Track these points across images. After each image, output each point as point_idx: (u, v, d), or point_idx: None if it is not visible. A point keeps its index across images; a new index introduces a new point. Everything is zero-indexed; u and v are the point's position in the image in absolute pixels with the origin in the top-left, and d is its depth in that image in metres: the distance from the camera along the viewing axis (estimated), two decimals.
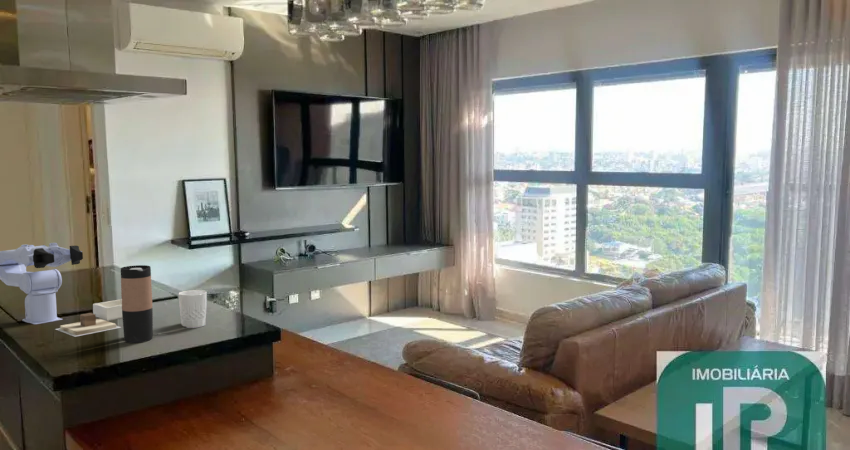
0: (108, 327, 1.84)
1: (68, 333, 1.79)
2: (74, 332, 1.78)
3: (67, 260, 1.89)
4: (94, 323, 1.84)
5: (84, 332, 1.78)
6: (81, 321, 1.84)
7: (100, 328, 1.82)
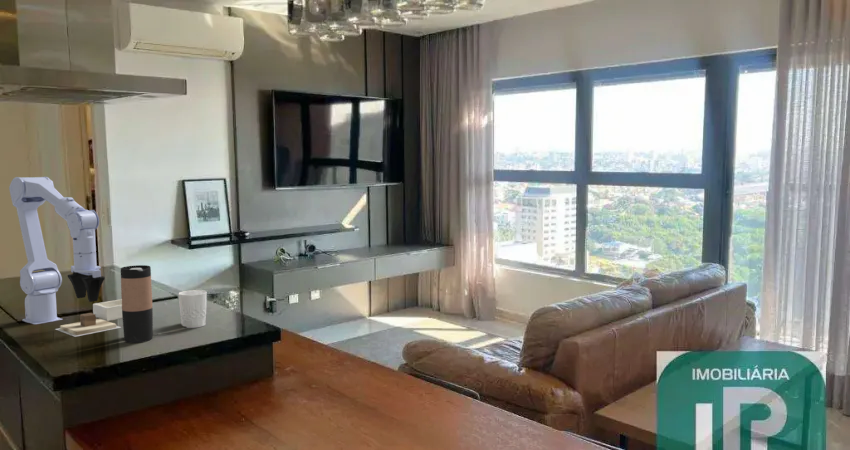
0: (108, 327, 1.84)
1: (68, 333, 1.79)
2: (74, 332, 1.78)
3: None
4: (94, 323, 1.84)
5: (84, 332, 1.78)
6: (81, 321, 1.84)
7: (100, 328, 1.82)
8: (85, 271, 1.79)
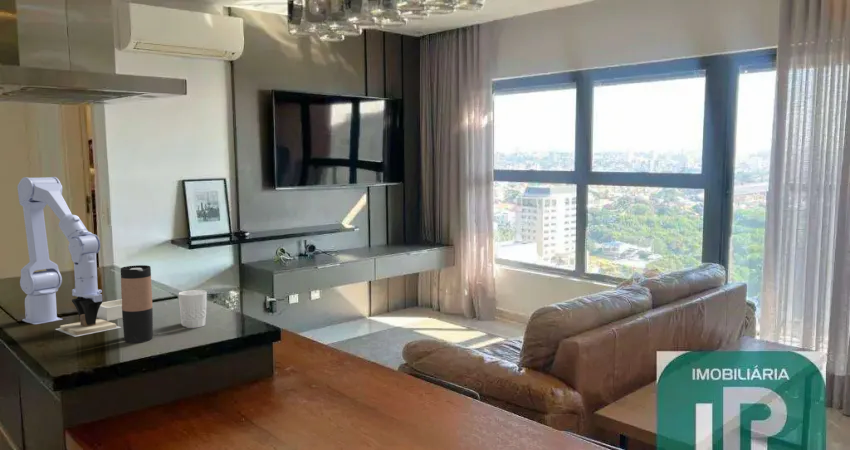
0: (108, 327, 1.84)
1: (68, 333, 1.79)
2: (74, 332, 1.78)
3: None
4: None
5: (84, 332, 1.78)
6: (81, 321, 1.84)
7: (100, 328, 1.82)
8: (86, 295, 1.80)
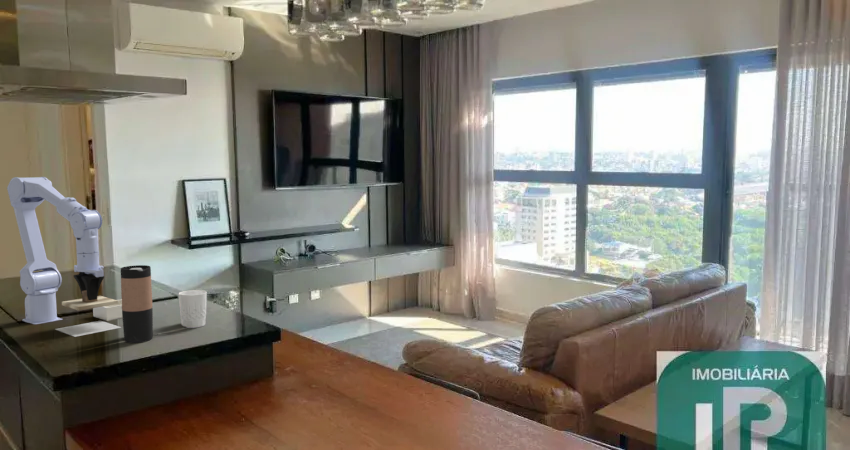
0: (109, 303, 1.84)
1: (68, 333, 1.79)
2: (76, 307, 1.79)
3: None
4: (96, 299, 1.85)
5: (85, 307, 1.79)
6: (83, 297, 1.85)
7: (101, 304, 1.83)
8: (88, 271, 1.81)
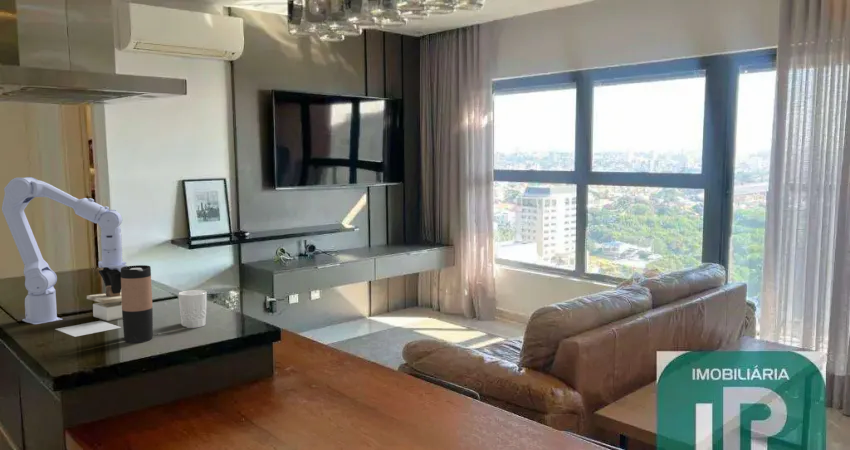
0: None
1: (68, 333, 1.79)
2: (101, 301, 1.92)
3: None
4: (118, 294, 1.99)
5: (110, 301, 1.93)
6: (106, 292, 1.98)
7: None
8: (112, 266, 1.94)
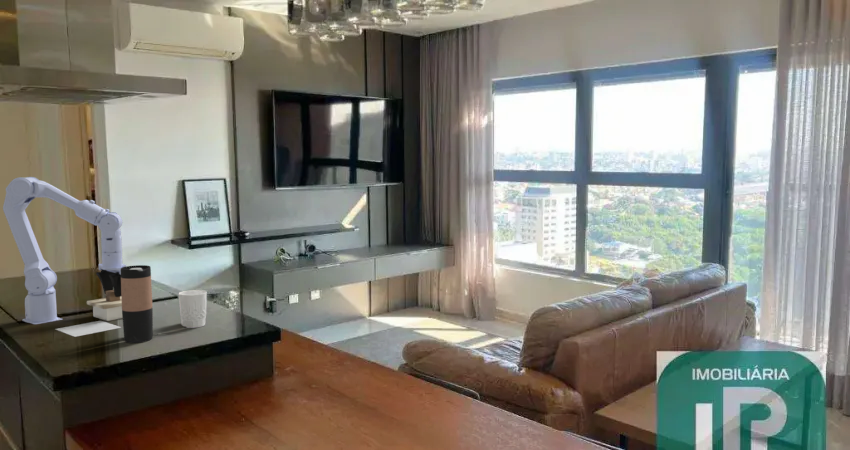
0: None
1: (68, 333, 1.79)
2: (101, 306, 1.92)
3: None
4: (118, 299, 1.99)
5: (110, 306, 1.93)
6: (106, 297, 1.98)
7: None
8: (113, 269, 1.94)
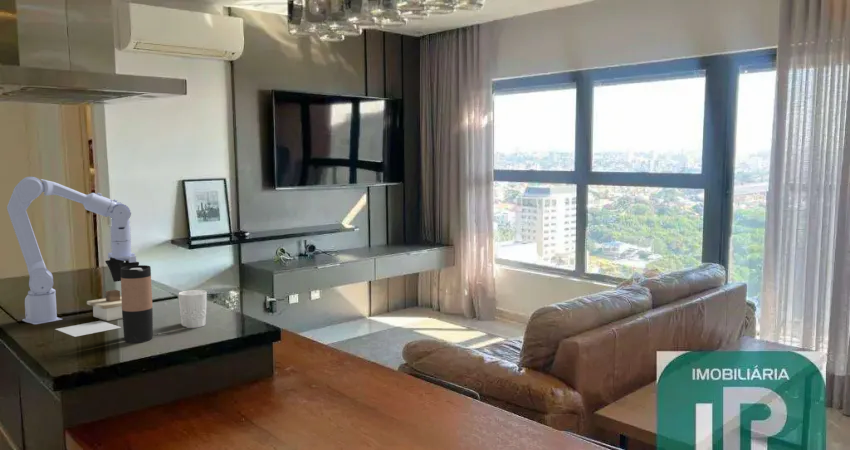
0: None
1: (68, 333, 1.79)
2: (101, 306, 1.92)
3: None
4: (118, 299, 1.99)
5: (110, 306, 1.93)
6: (106, 297, 1.98)
7: None
8: (122, 257, 2.00)
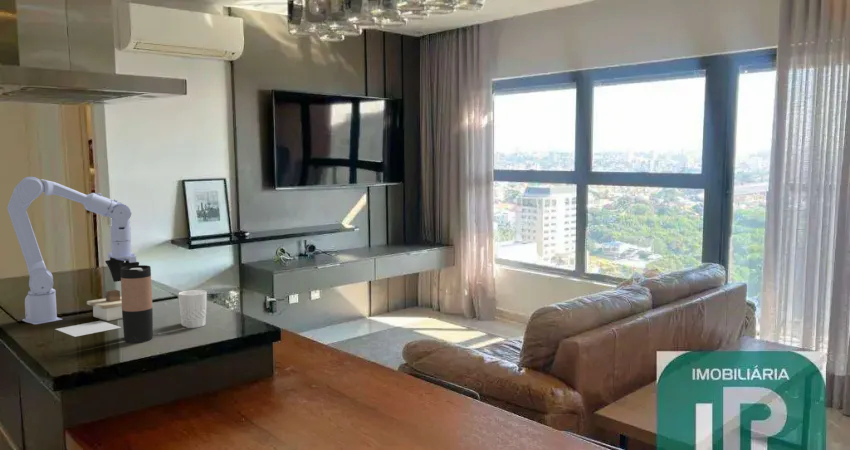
0: None
1: (68, 333, 1.79)
2: (101, 306, 1.92)
3: None
4: (118, 299, 1.99)
5: (110, 306, 1.93)
6: (106, 297, 1.98)
7: None
8: (122, 257, 2.00)
